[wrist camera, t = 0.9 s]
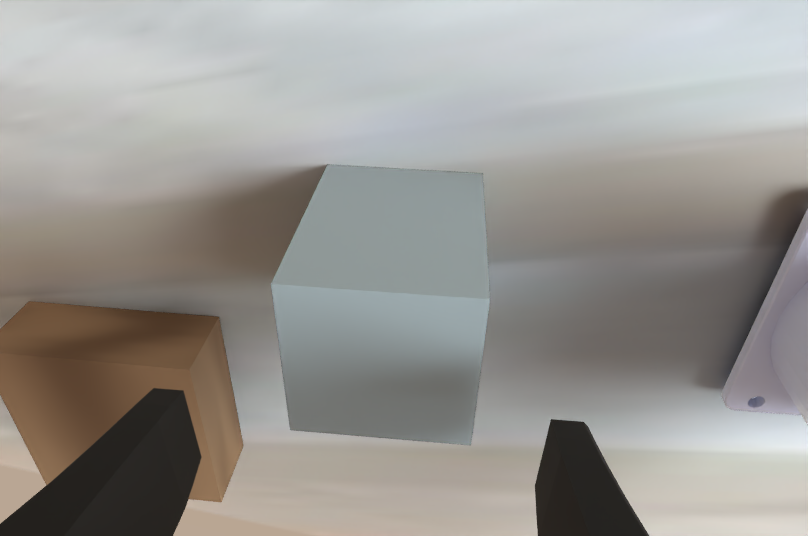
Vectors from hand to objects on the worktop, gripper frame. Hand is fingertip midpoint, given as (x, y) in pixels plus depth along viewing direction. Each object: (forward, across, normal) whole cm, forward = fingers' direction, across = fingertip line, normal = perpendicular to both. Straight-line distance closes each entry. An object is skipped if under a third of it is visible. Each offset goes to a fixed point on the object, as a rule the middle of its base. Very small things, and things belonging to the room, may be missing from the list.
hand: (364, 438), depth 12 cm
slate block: (+8, 0, 0) cm, 8 cm away
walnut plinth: (+8, +10, +7) cm, 15 cm away
